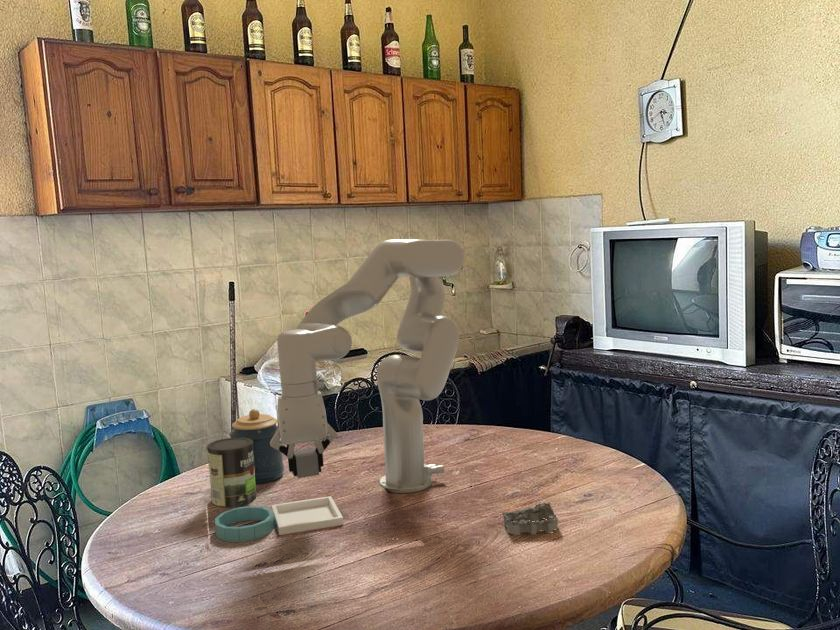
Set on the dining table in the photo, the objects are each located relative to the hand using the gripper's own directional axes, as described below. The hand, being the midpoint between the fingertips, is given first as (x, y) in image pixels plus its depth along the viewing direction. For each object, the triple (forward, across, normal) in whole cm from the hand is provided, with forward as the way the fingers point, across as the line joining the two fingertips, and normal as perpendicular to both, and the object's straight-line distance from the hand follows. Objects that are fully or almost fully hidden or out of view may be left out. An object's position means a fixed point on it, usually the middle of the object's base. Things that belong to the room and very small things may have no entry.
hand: (306, 471), depth 155 cm
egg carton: (+12, -41, +22) cm, 48 cm away
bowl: (+11, +14, +1) cm, 18 cm away
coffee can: (+11, +15, -18) cm, 26 cm away
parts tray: (+11, +1, 0) cm, 11 cm away
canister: (+11, +8, -34) cm, 36 cm away
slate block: (0, 0, 0) cm, 0 cm away
